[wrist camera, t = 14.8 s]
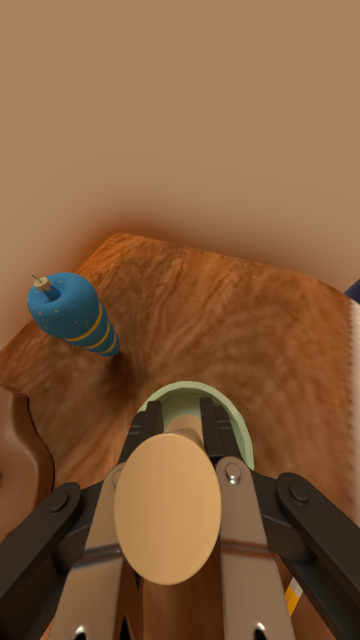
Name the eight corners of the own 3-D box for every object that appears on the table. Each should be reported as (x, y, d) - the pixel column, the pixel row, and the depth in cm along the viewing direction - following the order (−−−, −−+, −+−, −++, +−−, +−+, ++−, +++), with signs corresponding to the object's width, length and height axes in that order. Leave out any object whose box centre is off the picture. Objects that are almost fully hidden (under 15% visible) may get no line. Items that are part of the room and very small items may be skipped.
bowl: (218, 380, 21) (224, 369, 17) (257, 491, 16) (280, 515, 12) (136, 402, 21) (121, 396, 16) (149, 525, 15) (131, 564, 11)
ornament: (117, 330, 26) (41, 239, 13) (144, 346, 24) (87, 260, 12) (91, 359, 24) (-27, 285, 11) (119, 379, 22) (17, 318, 9)
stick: (203, 409, 18) (227, 370, 5) (219, 465, 16) (333, 648, 3) (160, 421, 18) (71, 411, 5) (169, 480, 15) (42, 758, 3)
